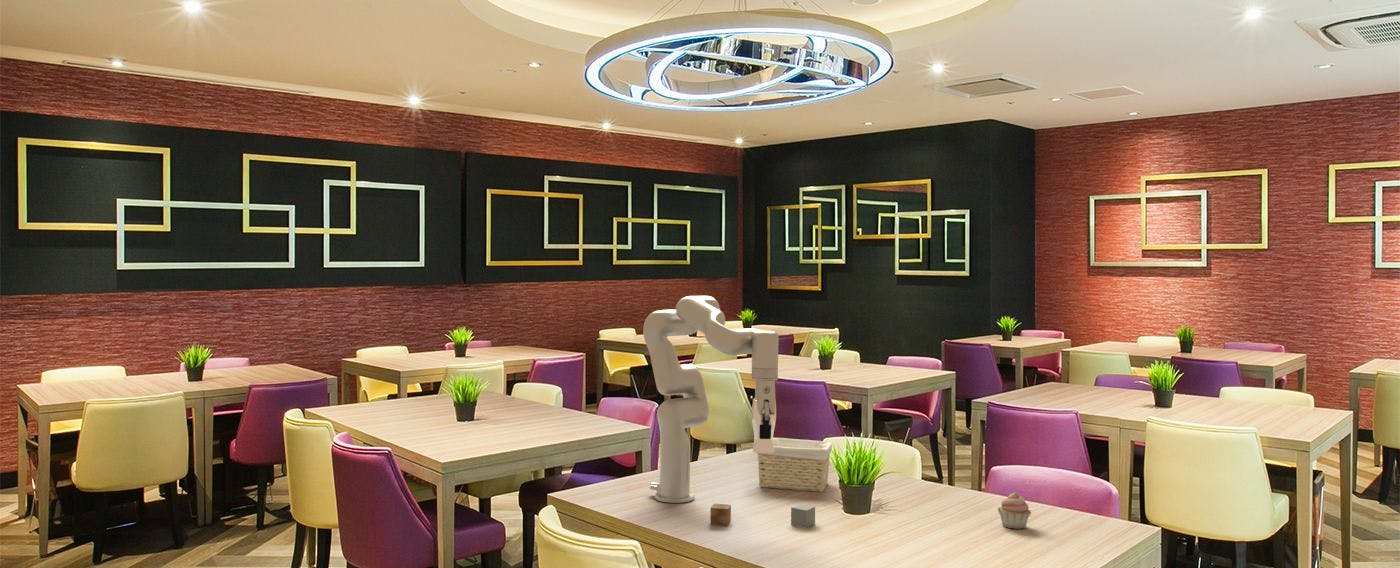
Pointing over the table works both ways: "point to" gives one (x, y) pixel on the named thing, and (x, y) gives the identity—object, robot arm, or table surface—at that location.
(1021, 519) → the cupcake
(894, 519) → the table surface
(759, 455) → the storage basket
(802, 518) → the slate-grey block
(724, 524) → the walnut block
